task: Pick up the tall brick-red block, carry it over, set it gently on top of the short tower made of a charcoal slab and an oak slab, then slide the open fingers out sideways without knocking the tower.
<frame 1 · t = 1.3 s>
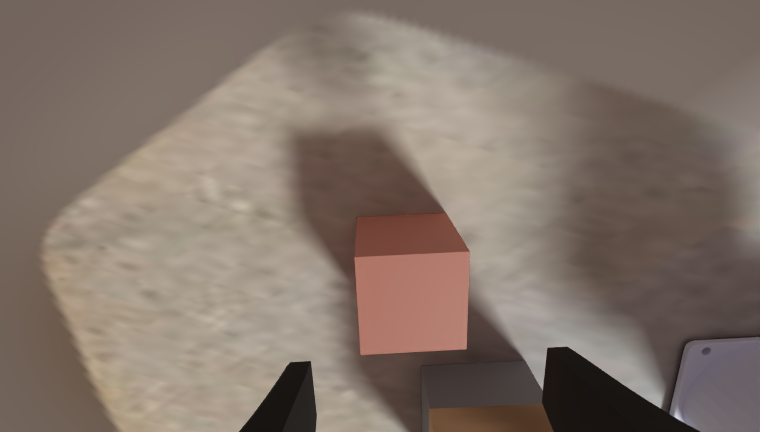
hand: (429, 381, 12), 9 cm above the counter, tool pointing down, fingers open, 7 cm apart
tower base: (470, 403, 25), on the counter, touching tower middle
red block: (402, 255, 21), on the counter
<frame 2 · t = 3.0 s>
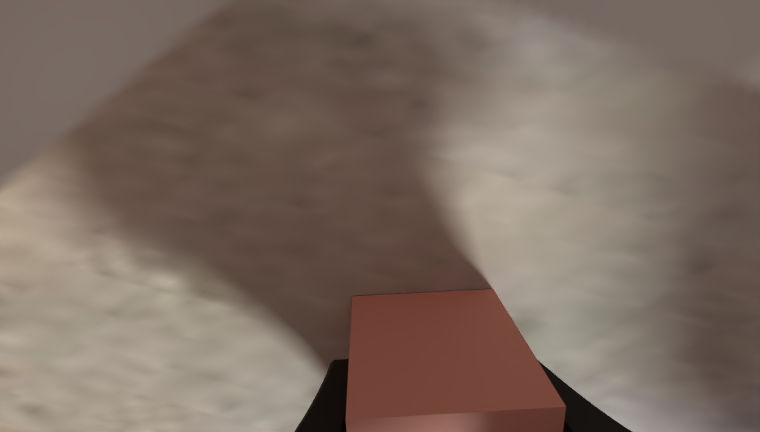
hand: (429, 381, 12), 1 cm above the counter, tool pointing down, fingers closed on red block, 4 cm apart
red block: (423, 352, 14), on the counter, touching gripper
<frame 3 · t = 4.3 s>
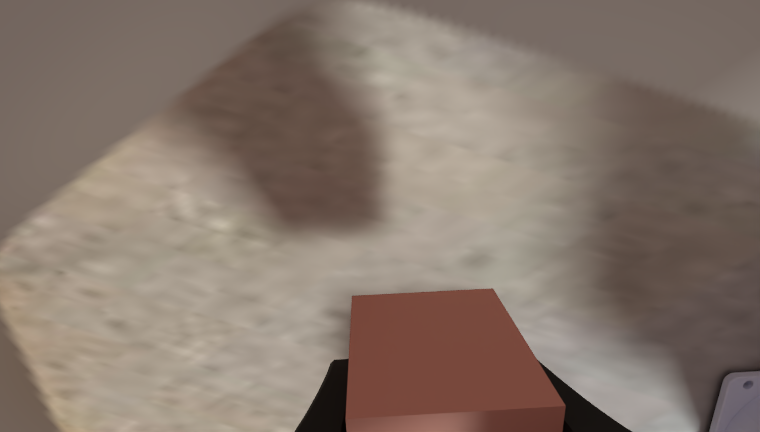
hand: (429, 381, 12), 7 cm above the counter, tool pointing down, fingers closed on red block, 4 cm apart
red block: (423, 351, 14), point 5 cm above the counter, touching gripper
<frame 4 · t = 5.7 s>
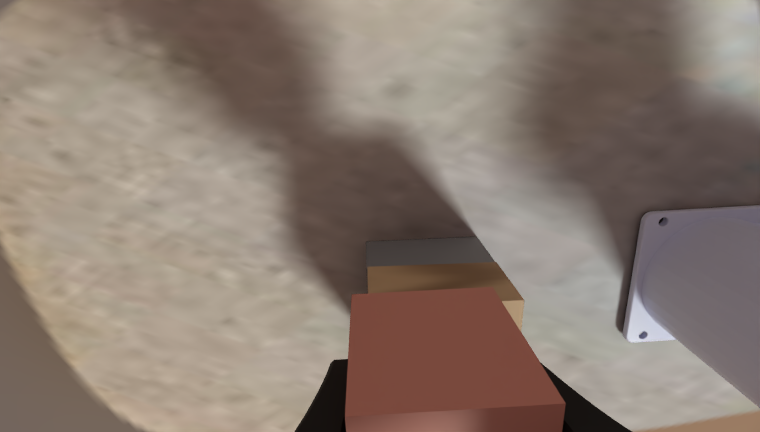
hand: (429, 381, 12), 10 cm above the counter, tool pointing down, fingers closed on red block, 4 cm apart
tower base: (421, 286, 23), on the counter, touching tower middle
red block: (422, 350, 14), point 9 cm above the counter, touching gripper
tower middle: (430, 320, 20), point 3 cm above the counter, touching tower base
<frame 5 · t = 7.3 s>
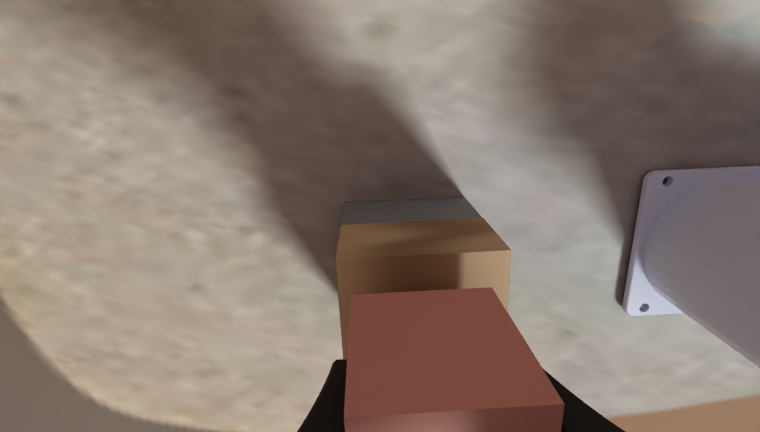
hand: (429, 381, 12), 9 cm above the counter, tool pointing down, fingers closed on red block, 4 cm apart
tower base: (405, 253, 22), on the counter, touching tower middle
red block: (422, 350, 14), point 8 cm above the counter, touching gripper
tower middle: (413, 285, 18), point 3 cm above the counter, touching tower base
when the fingers open (9 cm above the counter, at t = 7.6 s): red block drops 1 cm, resting on tower middle.
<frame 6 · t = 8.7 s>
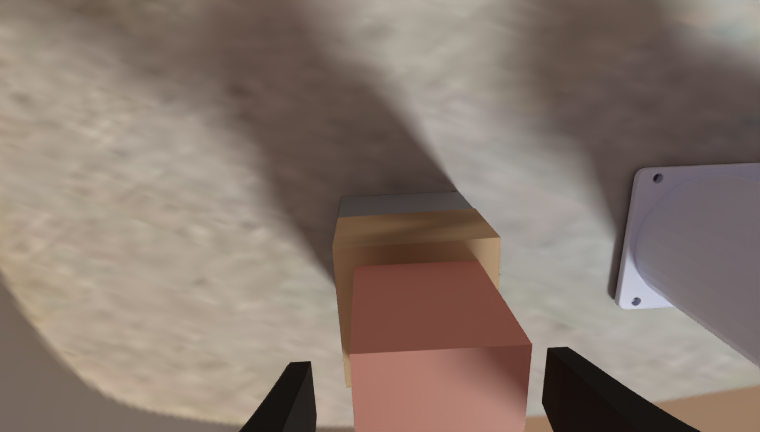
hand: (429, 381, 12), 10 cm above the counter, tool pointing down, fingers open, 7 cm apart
tower base: (401, 246, 22), on the counter, touching tower middle
red block: (417, 317, 16), point 7 cm above the counter, touching tower middle
tower middle: (409, 275, 19), point 3 cm above the counter, touching red block, tower base
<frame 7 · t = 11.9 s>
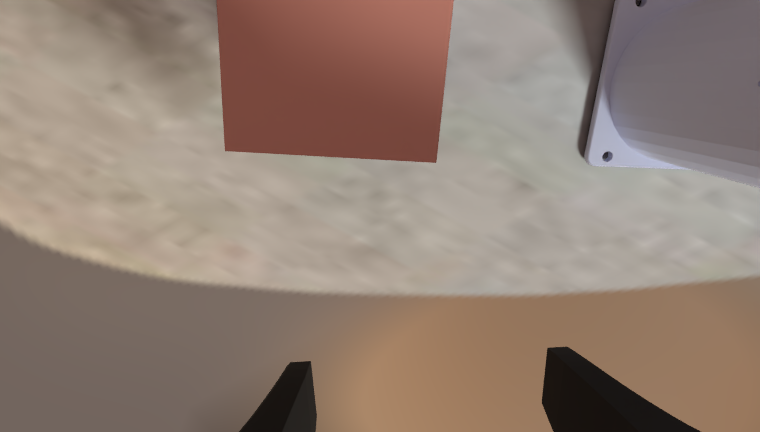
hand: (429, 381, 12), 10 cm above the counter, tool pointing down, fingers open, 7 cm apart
red block: (345, 56, 13), point 7 cm above the counter, touching tower middle
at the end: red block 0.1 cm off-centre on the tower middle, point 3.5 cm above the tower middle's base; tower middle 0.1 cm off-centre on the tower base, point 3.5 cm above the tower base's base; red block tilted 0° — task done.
